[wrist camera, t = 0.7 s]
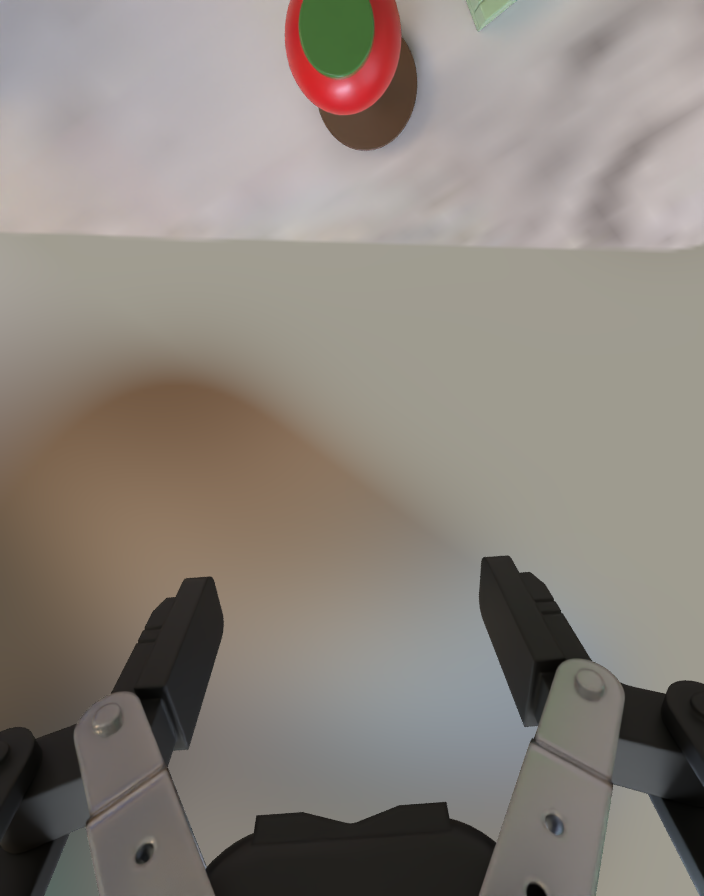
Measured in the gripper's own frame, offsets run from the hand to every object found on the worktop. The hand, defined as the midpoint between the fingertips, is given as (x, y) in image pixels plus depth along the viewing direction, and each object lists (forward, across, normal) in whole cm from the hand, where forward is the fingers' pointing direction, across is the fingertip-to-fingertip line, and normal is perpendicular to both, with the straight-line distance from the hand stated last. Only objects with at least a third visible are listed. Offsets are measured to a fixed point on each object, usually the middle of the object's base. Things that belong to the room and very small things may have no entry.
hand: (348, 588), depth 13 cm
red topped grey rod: (+24, -3, -18) cm, 30 cm away
